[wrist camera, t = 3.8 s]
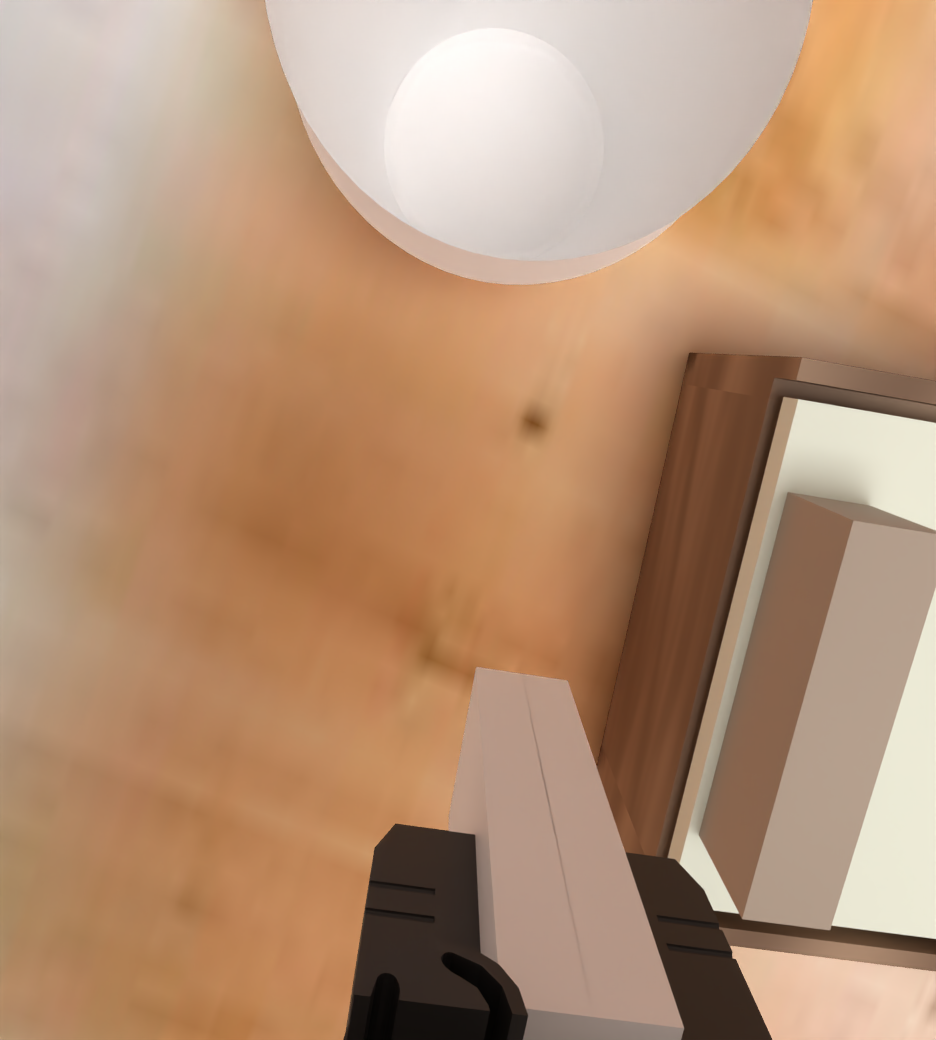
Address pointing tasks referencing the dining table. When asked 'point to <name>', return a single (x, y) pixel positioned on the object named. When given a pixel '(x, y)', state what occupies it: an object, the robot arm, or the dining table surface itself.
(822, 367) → the box
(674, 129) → the cup
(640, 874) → the robot arm
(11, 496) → the dining table surface
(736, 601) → the lid
